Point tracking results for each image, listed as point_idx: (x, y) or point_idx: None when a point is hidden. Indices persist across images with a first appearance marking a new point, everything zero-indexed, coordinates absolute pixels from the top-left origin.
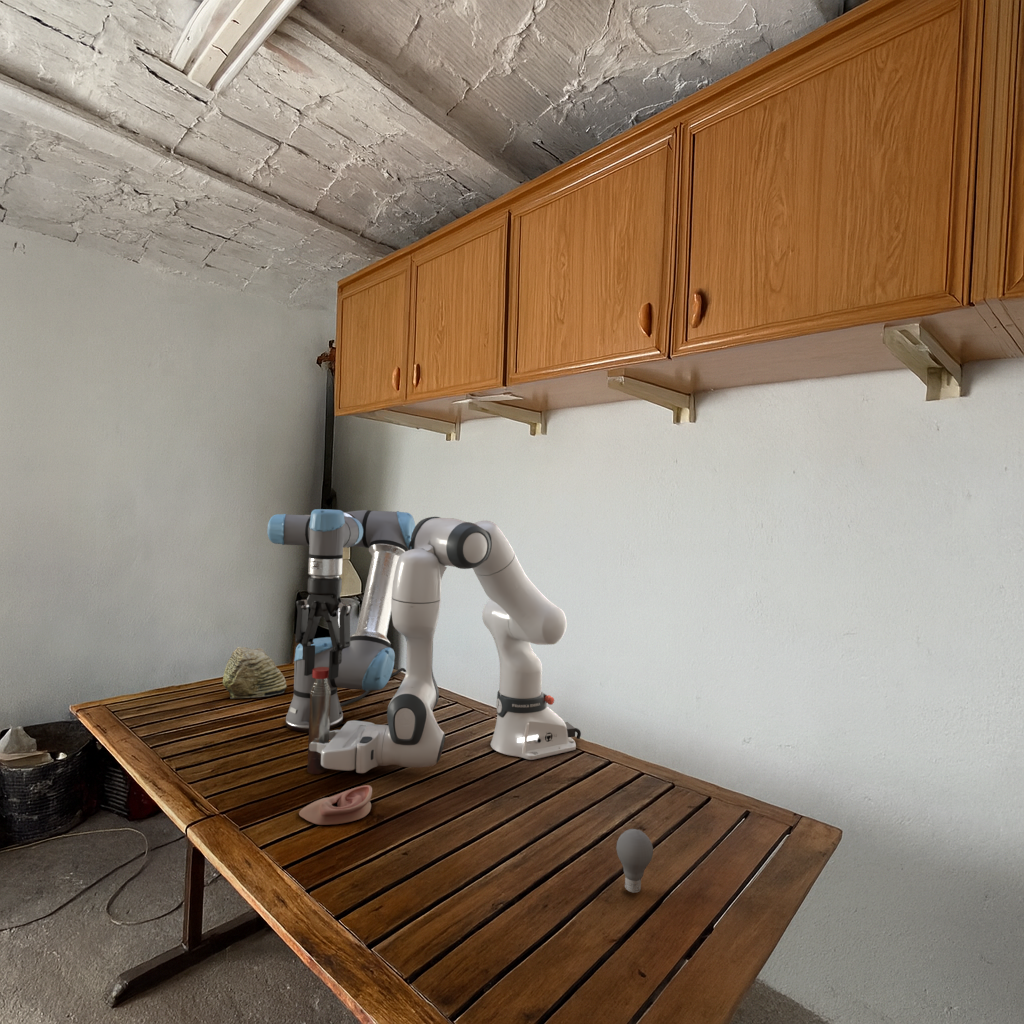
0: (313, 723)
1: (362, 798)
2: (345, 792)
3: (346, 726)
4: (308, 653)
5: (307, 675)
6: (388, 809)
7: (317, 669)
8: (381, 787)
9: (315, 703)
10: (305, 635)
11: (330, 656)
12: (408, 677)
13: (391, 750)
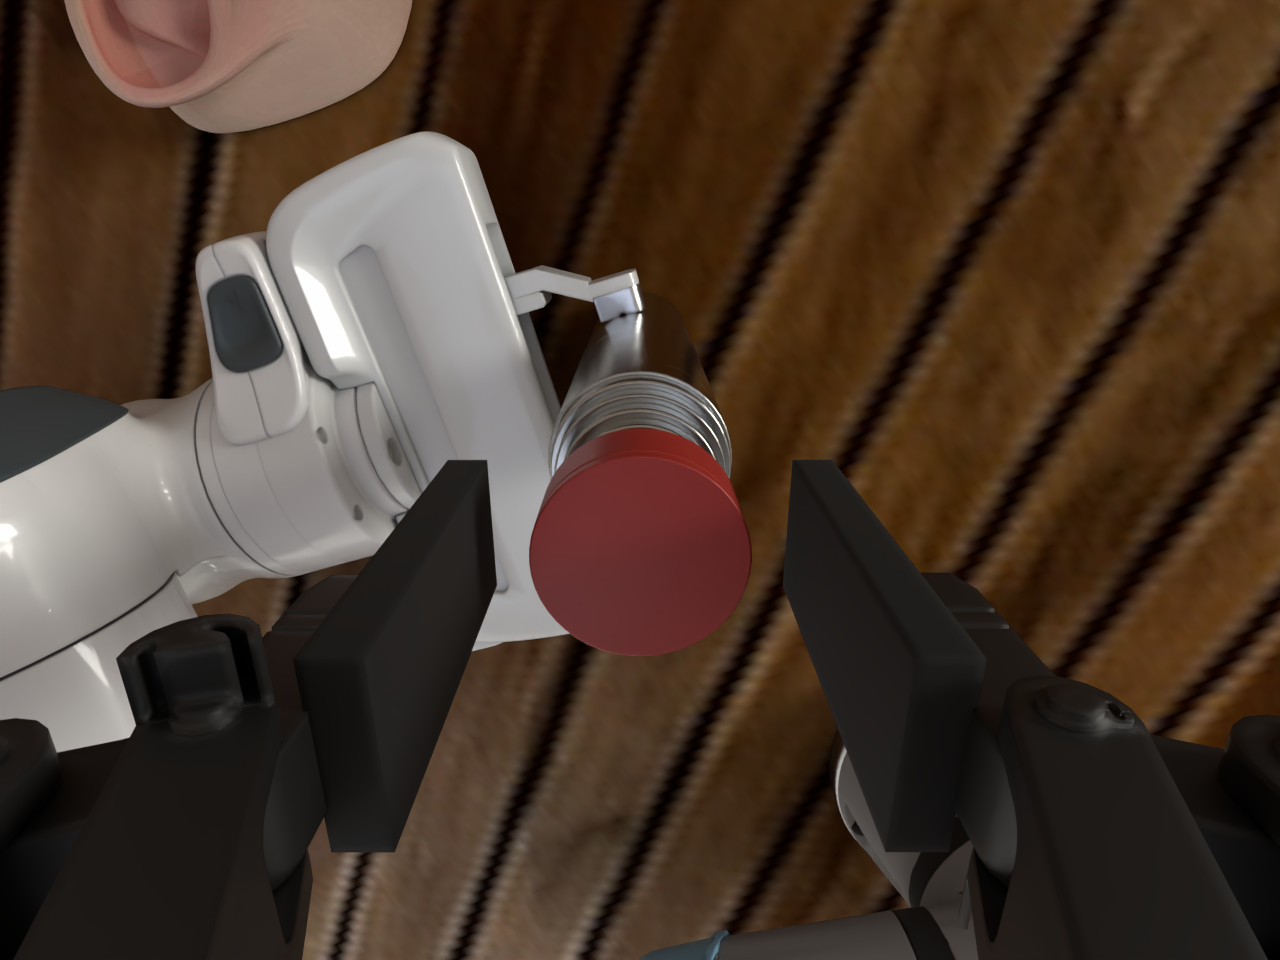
0: (639, 328)
1: (121, 12)
2: (225, 16)
3: None
4: (875, 614)
5: (792, 469)
6: (87, 116)
7: (675, 527)
8: None
9: (627, 355)
10: (1187, 905)
11: (379, 600)
12: None
13: (176, 400)
